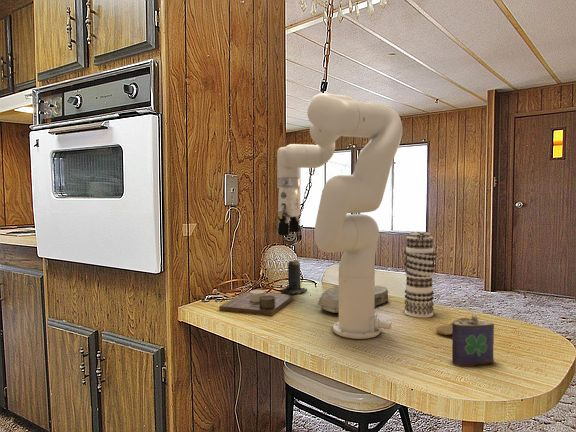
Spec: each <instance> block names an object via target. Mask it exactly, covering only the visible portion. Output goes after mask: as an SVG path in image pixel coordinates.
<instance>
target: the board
mask: <svg viewBox="0 0 576 432" xmlns="http://www.w3.org/2000/svg"><path fill="white" fill-rule="evenodd" d="M266 295H270V296H274V297H275V307H274V308H272V309H262V308H260V307H259V302H252V301H250V291H245V292H242V293H241V294H239V295H238V296H236V297H233V298H232V299H230V300H228V301H227V302H224V303H223V304H220V305H219V307H218V308H219V312H230V313H238V314H248V315H256V316H266V317H267V316H268V317H273V316H274V315H275V314H276V313H277V312H279V311H280V310H281V309H284V307H286V306H287V305H288V304H290V303H291V302H292V301H294V294H293V295H292V294H283V293H282V294H281V293H270V292H265V296H266Z"/></svg>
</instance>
